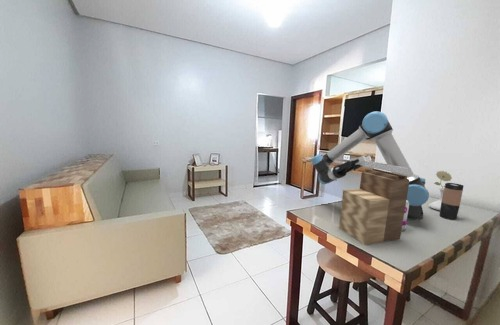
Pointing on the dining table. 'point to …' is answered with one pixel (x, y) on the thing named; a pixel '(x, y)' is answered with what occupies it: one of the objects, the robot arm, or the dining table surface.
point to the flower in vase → (443, 177)
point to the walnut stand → (375, 207)
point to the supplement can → (405, 215)
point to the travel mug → (451, 201)
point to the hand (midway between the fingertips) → (367, 157)
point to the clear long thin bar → (384, 167)
